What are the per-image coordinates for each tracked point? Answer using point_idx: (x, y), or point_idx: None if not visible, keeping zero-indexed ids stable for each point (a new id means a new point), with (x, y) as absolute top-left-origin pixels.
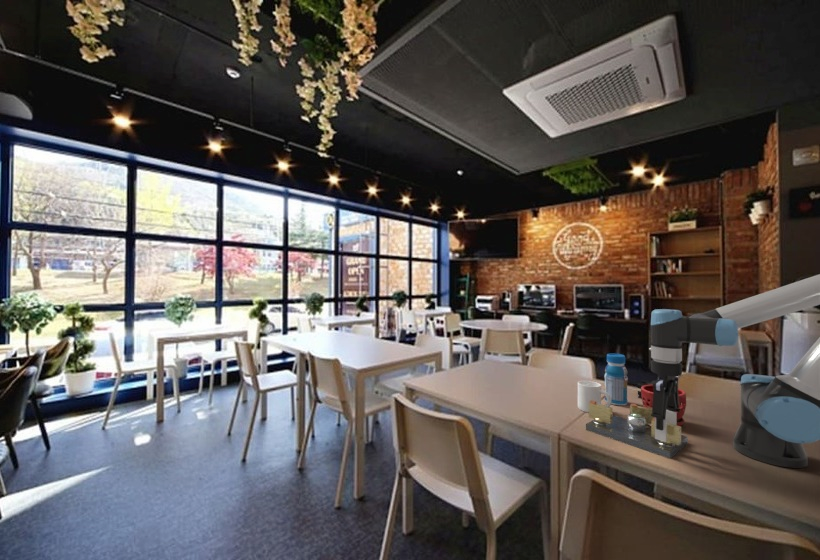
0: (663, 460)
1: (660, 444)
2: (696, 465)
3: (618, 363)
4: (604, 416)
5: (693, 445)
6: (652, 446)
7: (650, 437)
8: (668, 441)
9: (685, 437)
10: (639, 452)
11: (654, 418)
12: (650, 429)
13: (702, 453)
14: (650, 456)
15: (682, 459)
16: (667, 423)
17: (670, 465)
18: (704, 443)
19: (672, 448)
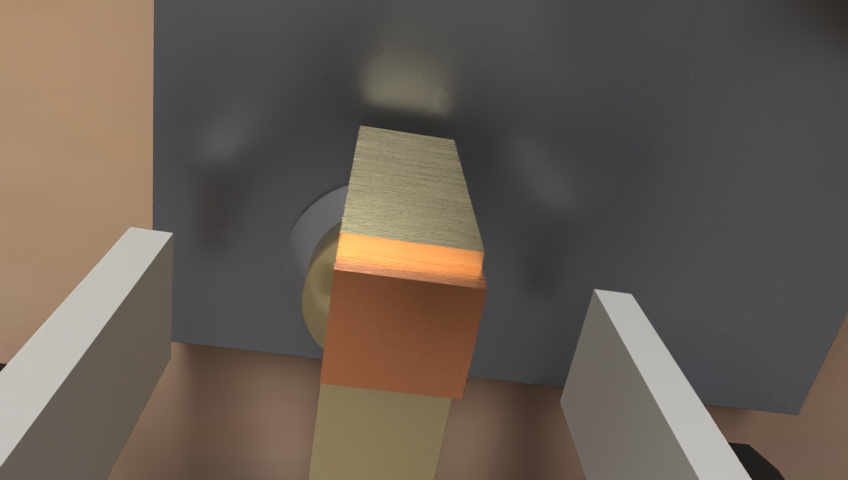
0: (70, 252)
1: (289, 228)
2: (228, 467)
3: None
4: None
5: (724, 410)
6: (157, 155)
7: (459, 85)
8: (312, 334)
9: (753, 401)
10: (43, 3)
11: (399, 305)
12: (816, 28)
13: (561, 477)
14: (47, 131)
15: (265, 376)
16: (405, 477)
17: (9, 317)
18: (842, 469)
19: (277, 343)
